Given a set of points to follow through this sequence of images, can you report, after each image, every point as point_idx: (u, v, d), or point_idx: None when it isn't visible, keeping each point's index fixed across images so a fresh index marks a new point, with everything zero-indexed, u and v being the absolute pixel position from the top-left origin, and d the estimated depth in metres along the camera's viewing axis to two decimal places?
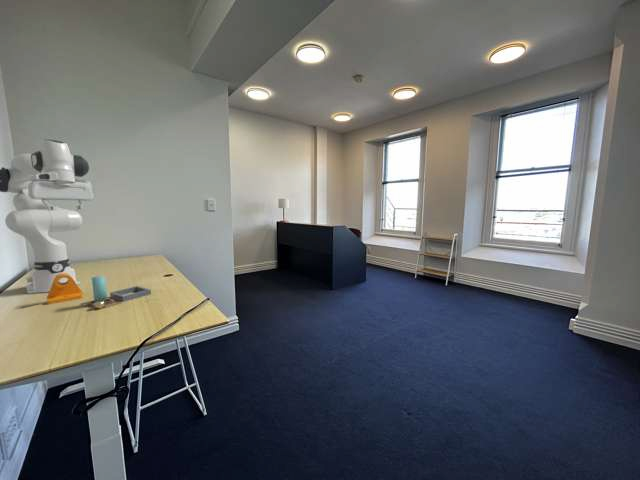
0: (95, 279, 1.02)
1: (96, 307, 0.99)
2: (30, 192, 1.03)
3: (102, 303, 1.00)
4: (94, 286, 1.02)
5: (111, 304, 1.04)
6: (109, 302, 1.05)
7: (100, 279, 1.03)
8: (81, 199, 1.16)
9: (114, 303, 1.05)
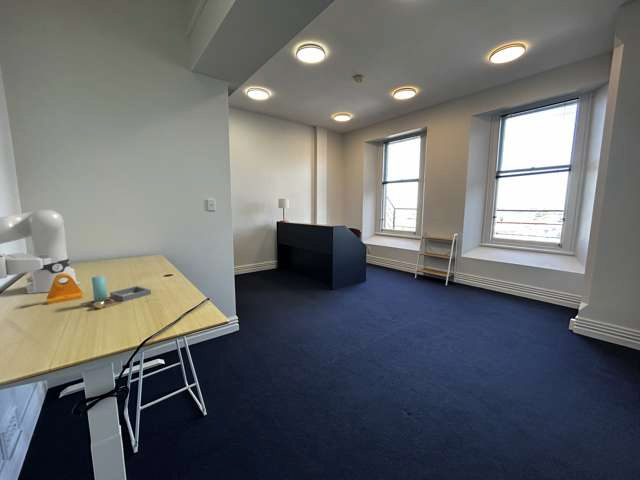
0: (95, 279, 1.02)
1: (96, 307, 0.99)
2: (31, 262, 0.81)
3: (102, 303, 1.00)
4: (94, 286, 1.02)
5: (111, 304, 1.04)
6: (109, 302, 1.05)
7: (100, 279, 1.03)
8: (26, 254, 0.90)
9: (114, 303, 1.05)
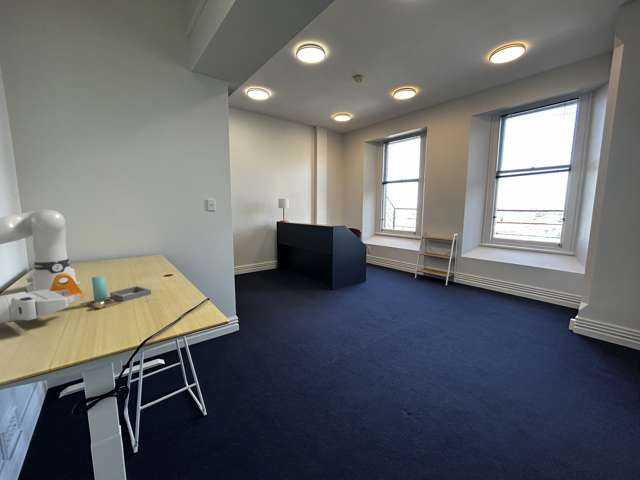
0: (95, 279, 1.02)
1: (96, 307, 0.99)
2: (58, 302, 0.86)
3: (102, 303, 1.00)
4: (94, 286, 1.02)
5: (111, 304, 1.04)
6: (109, 302, 1.05)
7: (100, 279, 1.03)
8: (50, 291, 0.95)
9: (114, 303, 1.05)
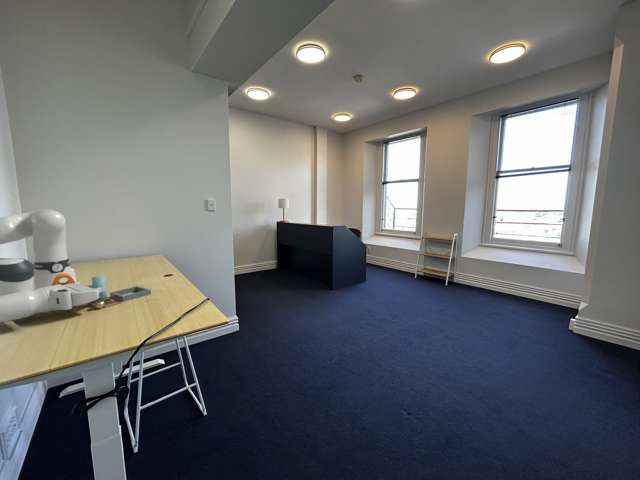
0: (95, 279, 1.02)
1: (96, 307, 0.99)
2: (91, 294, 0.94)
3: (102, 303, 1.00)
4: (94, 286, 1.02)
5: (111, 304, 1.04)
6: (109, 302, 1.05)
7: (100, 279, 1.03)
8: (80, 284, 1.03)
9: (114, 303, 1.05)
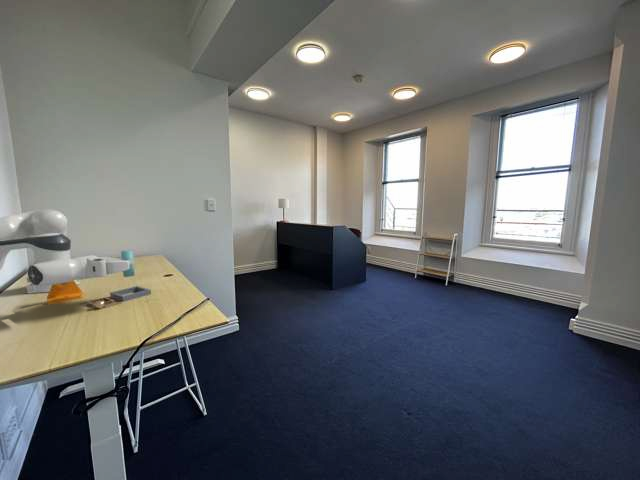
0: (124, 252, 1.10)
1: (96, 307, 0.99)
2: (123, 264, 1.02)
3: (102, 303, 1.00)
4: (123, 259, 1.11)
5: (111, 304, 1.04)
6: (109, 302, 1.05)
7: (129, 252, 1.11)
8: None
9: (114, 303, 1.05)
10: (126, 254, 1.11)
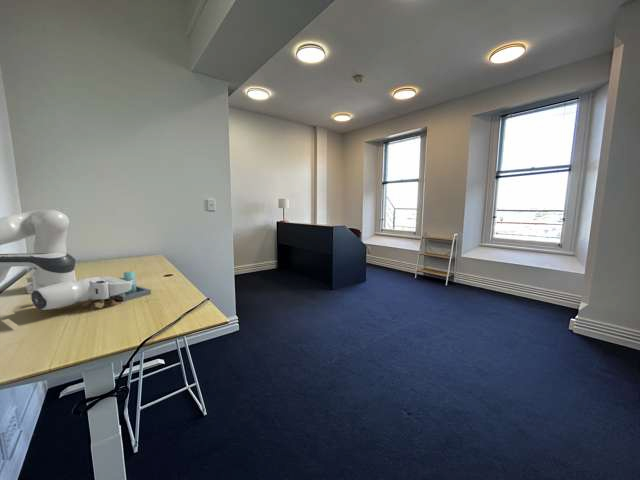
0: (127, 274, 1.12)
1: (96, 307, 0.99)
2: (125, 285, 1.04)
3: (102, 303, 1.00)
4: (126, 280, 1.12)
5: (111, 304, 1.04)
6: (109, 302, 1.05)
7: (131, 274, 1.12)
8: None
9: (114, 303, 1.05)
10: (128, 276, 1.12)
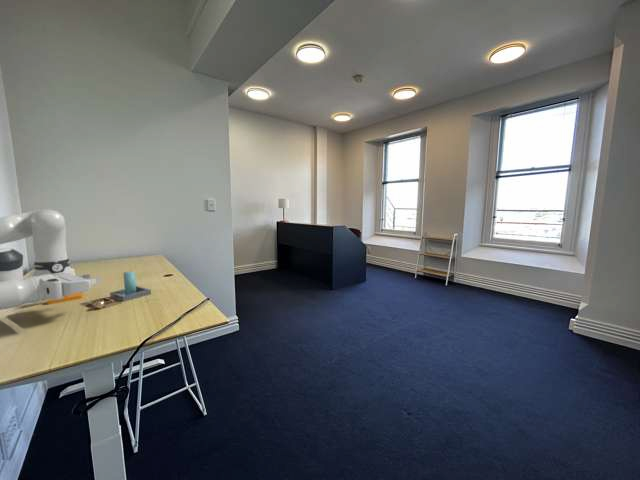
0: (126, 274, 1.12)
1: (96, 307, 0.99)
2: (82, 284, 0.91)
3: (102, 303, 1.00)
4: (125, 280, 1.12)
5: (111, 304, 1.04)
6: (109, 302, 1.05)
7: (131, 274, 1.12)
8: None
9: (114, 303, 1.05)
10: (128, 276, 1.12)
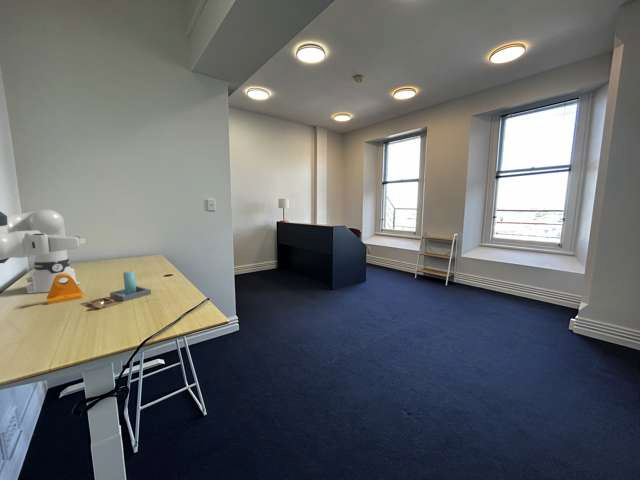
0: (126, 274, 1.12)
1: (96, 307, 0.99)
2: (70, 241, 0.88)
3: (102, 303, 1.00)
4: (125, 280, 1.12)
5: (111, 304, 1.04)
6: (109, 302, 1.05)
7: (131, 274, 1.12)
8: None
9: (114, 303, 1.05)
10: (128, 276, 1.12)
